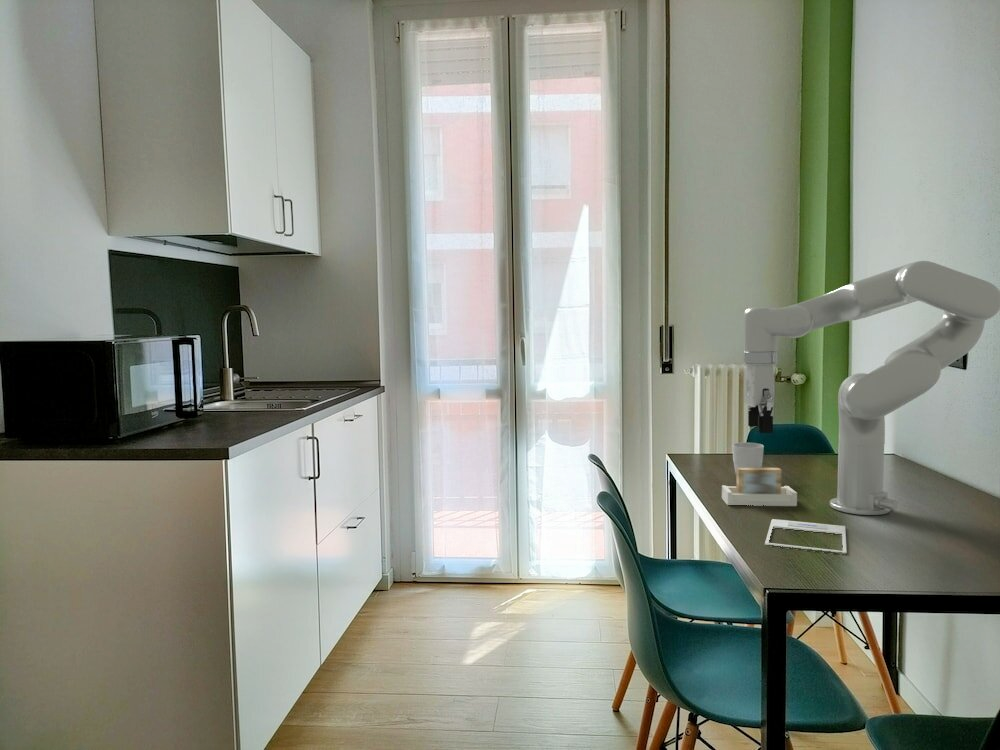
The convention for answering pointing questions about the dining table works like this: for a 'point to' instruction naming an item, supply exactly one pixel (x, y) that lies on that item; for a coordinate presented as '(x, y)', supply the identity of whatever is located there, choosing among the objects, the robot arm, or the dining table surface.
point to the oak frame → (758, 481)
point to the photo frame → (807, 527)
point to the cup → (747, 455)
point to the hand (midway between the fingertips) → (760, 429)
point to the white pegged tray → (759, 497)
